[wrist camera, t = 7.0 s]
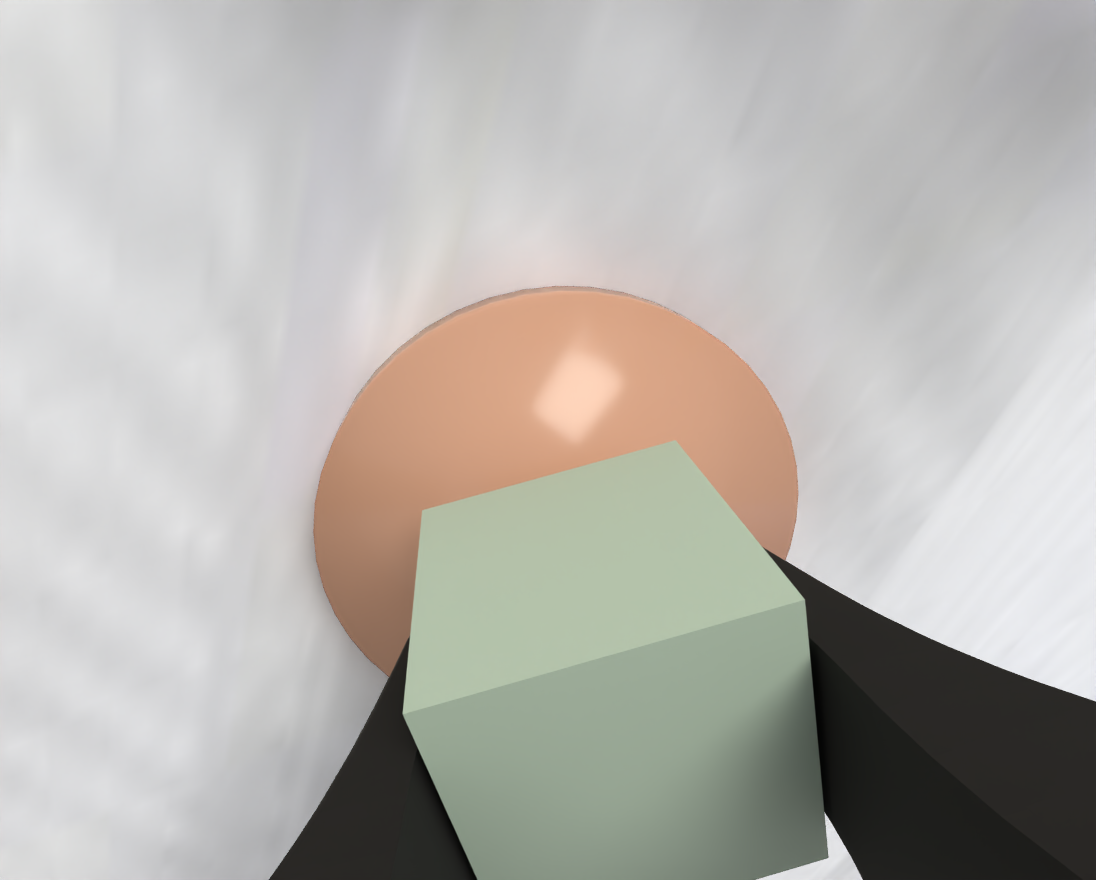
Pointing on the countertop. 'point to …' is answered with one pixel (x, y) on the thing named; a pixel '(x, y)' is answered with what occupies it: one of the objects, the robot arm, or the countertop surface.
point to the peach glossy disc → (532, 432)
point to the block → (614, 680)
